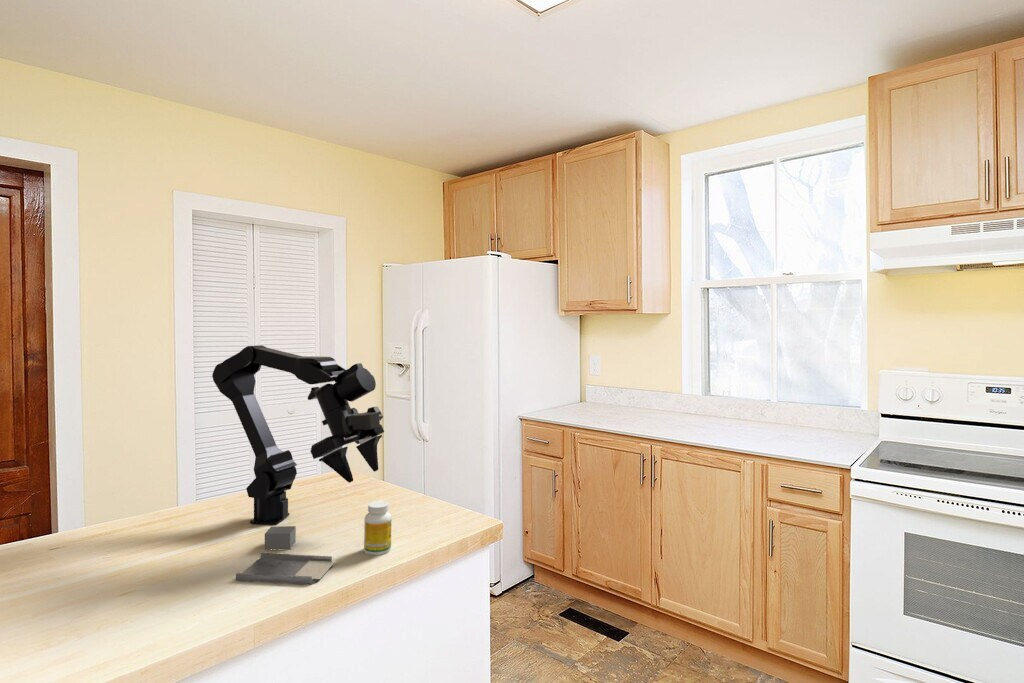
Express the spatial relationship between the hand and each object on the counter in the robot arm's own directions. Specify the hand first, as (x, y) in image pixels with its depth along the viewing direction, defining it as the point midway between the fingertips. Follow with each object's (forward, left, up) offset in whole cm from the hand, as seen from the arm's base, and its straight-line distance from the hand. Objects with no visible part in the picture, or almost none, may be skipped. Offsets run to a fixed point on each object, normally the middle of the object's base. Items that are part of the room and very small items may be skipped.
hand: (364, 476), depth 120 cm
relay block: (-15, -7, -13) cm, 21 cm away
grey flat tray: (-9, -18, -13) cm, 24 cm away
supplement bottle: (+5, -7, -13) cm, 16 cm away
